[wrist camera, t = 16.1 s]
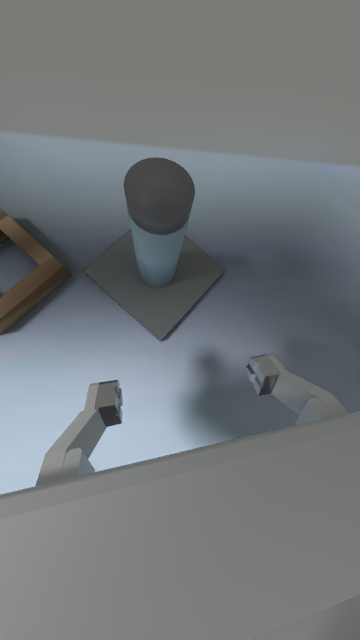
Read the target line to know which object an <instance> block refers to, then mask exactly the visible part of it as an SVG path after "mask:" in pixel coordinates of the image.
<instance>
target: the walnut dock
mask: <svg viewBox="0 0 360 640" xmlns="http://www.w3.org/2000/svg"><path fill="white" fill-rule="evenodd" d="M8 237H9V238H10V239H12V240H13V241H14V242H15V243H16V244H17V245H18V246H19V247H20V248H21V249H23V250H24V251H25V252H26V253H27V254H28V255H29V256H30V257H31V258H32V259H34V260H35V261H36V262H37V263H38V264H39V265H40V266H39V267H37V268H36V269H35V270H34V271H32V272H31V273H30V274H29V275H27V276H26V277H25V278H24V279H23V280H21V281H20V282H19V283H18V284H16V285H15V286H14V287H13V288H11V289H10V290H9V291H8V292H6V293H5V294H4V295H3V296H1V297H0V335H1V334H2V333H3V332H4V331H5V330H7V329H8V328H9V327H10V326H11V325H12V324H14V323H15V322H16V321H17V320H18V319H19V318H21V317H22V316H23V315H24V314H25V313H26V312H28V311H29V310H30V309H31V308H32V307H33V306H35V305H36V304H37V303H38V302H39V301H40V300H42V299H43V298H44V297H45V296H46V295H47V294H49V293H50V292H51V291H52V290H53V289H54V288H56V287H57V286H58V285H59V284H60V283H61V282H63V281H64V280H65V279H66V278H67V277H68V276H70V275H71V273H70V272H69V271H68V269H67V268H66V267H65V266H64V265H63V264H61V263H60V262H59V261H58V260H57V259H56V258H55V257H54V256H53V255H52V254H50V253H49V252H48V251H47V250H46V249H45V248H44V247H43V246H42V245H41V244H39V243H38V242H37V241H36V240H35V239H34V238H33V237H32V236H31V235H29V234H28V233H27V232H26V231H25V230H24V229H23V228H22V227H21V226H20V225H18V224H17V223H16V222H15V221H14V220H13V219H12V218H11V217H10V216H9V215H7V214H6V213H5V212H4V211H3V210H2V209H1V208H0V243H1V242H3V241H4V240H5V239H7V238H8Z"/></svg>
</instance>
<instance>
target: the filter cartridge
mask: <svg viewBox="0 0 360 640" xmlns="http://www.w3.org/2000/svg"><path fill="white" fill-rule="evenodd" d="M124 190H125V196H126V202H127V208H128V214H129V220H130V226H131V231H132V237H133V243H134V249H135V255H136V261H137V266H138V272H139V276H140V278H141V280H142V281H143V282H144V283H145V284H146V285H148V286H150V287H154V288H161V287H164V286H166V285H168V284H169V283H170V282H171V281H172V280H173V278H174V275H175V271H176V267H177V263H178V259H179V255H180V251H181V247H182V243H183V239H184V235H185V231H186V227H187V223H188V219H189V215H190V211H191V207H192V204H193V200H194V195H195V188H194V183H193V181H192V178H191V177H190V175H189V174H188V172H187V171H186V170H185V169H184V168H183V167H181V166H180V165H178V164H177V163H175V162H173V161H171V160H168V159H164V158H148V159H144V160H141V161H139V162H137V163H136V164H134V165H133V166H132V167H131V168H130V169H129V170H128V172H127V174H126V176H125V180H124Z"/></svg>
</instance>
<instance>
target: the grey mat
mask: <svg viewBox="0 0 360 640" xmlns="http://www.w3.org/2000/svg"><path fill="white" fill-rule="evenodd" d="M83 271H84V272H85V274H86V275H87V276H89V277H90V278H91V279H92V280H93V281H94V282H95V283H96V284H97V285H98V286H100V287H101V288H102V289H103V290H104V291H105V292H106V293H107V294H108V295H110V296H111V297H112V298H113V299H114V300H115V301H116V302H117V303H118V304H119V305H121V306H122V307H123V308H124V309H125V310H126V311H127V312H128V313H129V314H131V315H132V316H133V317H134V318H135V319H136V320H137V321H138V322H139V323H140V324H142V325H143V326H144V327H145V328H146V329H147V330H148V331H149V332H150V333H151V334H153V335H154V336H155V337H156V338H157V339H158V340H159V341H161V340H162V339H163V338H164V337H165V336H166V335H167V334H168V333H169V331H170V330H171V329H172V328H173V327H174V326H175V325H176V324H177V323H178V322H179V320H180V319H181V318H182V317H183V316H184V315H185V314H186V313H187V312H188V311H189V309H190V308H191V307H192V306H193V305H194V304H195V303H196V302H197V301H198V300H199V298H200V297H201V296H202V295H203V294H204V293H205V292H206V291H207V290H208V289H209V287H210V286H211V285H212V284H213V283H214V282H215V281H216V280H217V279H218V278H219V276H220V275H221V274H222V273H223V272H224V270H223V269H222V268H221V267H220V266H219V265H218V264H217V263H215V262H214V261H213V260H212V259H211V258H210V257H209V256H208V255H206V254H205V253H204V252H203V251H202V250H201V249H200V248H199V247H197V246H196V245H195V244H194V243H193V242H192V241H191V240H190V239H188V238H187V237H186V236H185V235H184V239H183V243H182V247H181V251H180V255H179V259H178V263H177V267H176V271H175V275H174V278H173V280H172V281H171V282H170V283H169V284H168V285H166V286H164V287H161V288H154V287H150V286H148V285H146V284H145V283H144V282H143V281H142V280H141V278H140V276H139V272H138V266H137V261H136V255H135V249H134V243H133V237H132V231H131V229H130V230H129V231H128V232H127V233H126V234H125V235H124V236H122V237H121V238H120V239H119V240H118V241H117V242H115V243H114V244H113V245H112V246H111V247H110V248H109V249H107V250H106V251H105V252H104V253H103V254H102V255H100V256H99V257H98V258H97V259H96V260H95V261H94V262H92V263H91V264H90V265H89V266H88V267H87V268H86V269H84V270H83Z"/></svg>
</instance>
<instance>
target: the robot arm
mask: <svg viewBox="0 0 360 640" xmlns="http://www.w3.org/2000/svg"><path fill="white" fill-rule="evenodd" d="M248 363H249V364H248V365H247V367H246V375H247V377H248V379H249V381H251V382H252V383H253V388H254V389H255V391H256V392H257V394H258V396H259V395H265V394H270V393H271V395H273V396H274V397H275V398H277V399H278V400H279V401H281V402H282V403H283V404H285V405H286V406H287V407H289V408H290V409H291V410H293V411H294V412H295V413H297V414H298V415H299V416H298V418H297V419H296V422H295V424H296V425H293V426H289V427H285V428H281V429H276V430H272V431H268V432H264V433H259V434H255V435H251V436H247V437H242V438H238V439H234V440H230V441H225V442H221V443H217V444H213V445H208V446H204V447H200V448H196V449H191V450H187V451H183V452H179V453H175V454H170V455H166V456H162V457H158V458H153V459H149V460H145V461H141V462H136V463H132V464H128V465H124V466H120V467H115V468H111V469H107V470H103V471H98V472H95V469H94V468H93V466H92V465H91V463H90V462H89V460H88V458H89V457H90V455H91V453H92V452H93V450H94V448H95V446H96V445H97V443H98V441H99V440H100V438H101V436H102V434H103V433H104V431H105V429H106V427H108V426H112V425H117V424H121V423H122V410H121V406H122V404H123V399H122V391H121V388H119V381H118V380H114V381H107V382H100V383H94V384H90V386H89V389H88V393H87V398H86V403H85V408H84V411H82V412H80V413H79V415H78V416H77V417H76V418H75V419H74V421H73V422H72V423H71V424H70V425H69V427H68V428H67V429H66V430H65V431H64V433H63V434H62V435H61V436H60V437H59V439H58V440H57V441H56V442H55V443H54V445H53V446H52V447H51V448H50V449H49V450H48V452H47V453H46V454H45V458H44V461H43V464H42V467H41V470H40V473H39V477H38V480H37V483H36V486H35V487H31V488H26V489H22V490H18V491H14V492H9V493H5V494H1V495H0V640H360V410H357V411H353V412H349V411H348V410H347V409H346V408H345V407H344V406H343V405H342V404H341V403H340V402H339V401H338V400H337V398H336V397H335V396H334V395H333V394H332V393H330V392H328V391H326V390H325V389H323V388H321V387H319V386H317V385H315V384H313V383H311V382H309V381H307V380H305V379H303V378H301V377H299V376H297V375H296V374H294V373H292V372H288V371H287V370H286V369H285V367H284V366H283V365H282V364H281V363H280V361H279V360H278V359H277V358H276V357H275V355H274V354H266V355H260V356H254V357H250V358H249V359H248Z"/></svg>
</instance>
